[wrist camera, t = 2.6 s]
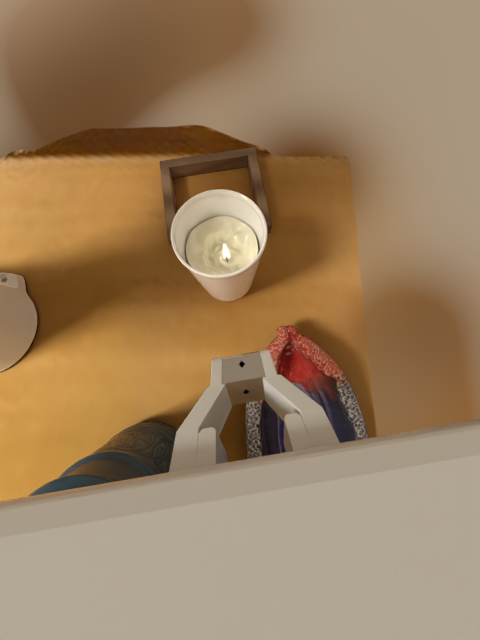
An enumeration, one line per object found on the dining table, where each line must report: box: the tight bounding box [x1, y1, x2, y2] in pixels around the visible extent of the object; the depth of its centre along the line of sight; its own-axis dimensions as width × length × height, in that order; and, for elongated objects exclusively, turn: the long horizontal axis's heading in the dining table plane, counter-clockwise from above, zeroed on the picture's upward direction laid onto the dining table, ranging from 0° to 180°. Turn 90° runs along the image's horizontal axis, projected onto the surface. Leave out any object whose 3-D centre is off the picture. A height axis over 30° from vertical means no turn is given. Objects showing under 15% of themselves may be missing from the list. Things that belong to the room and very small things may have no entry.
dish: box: [246, 325, 368, 459], centre depth 23 cm, size 16×31×5 cm, turn 4°
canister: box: [28, 421, 177, 497], centre depth 16 cm, size 13×13×18 cm
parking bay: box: [160, 147, 272, 245], centre depth 31 cm, size 16×17×2 cm
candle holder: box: [171, 189, 267, 302], centre depth 24 cm, size 10×10×12 cm
